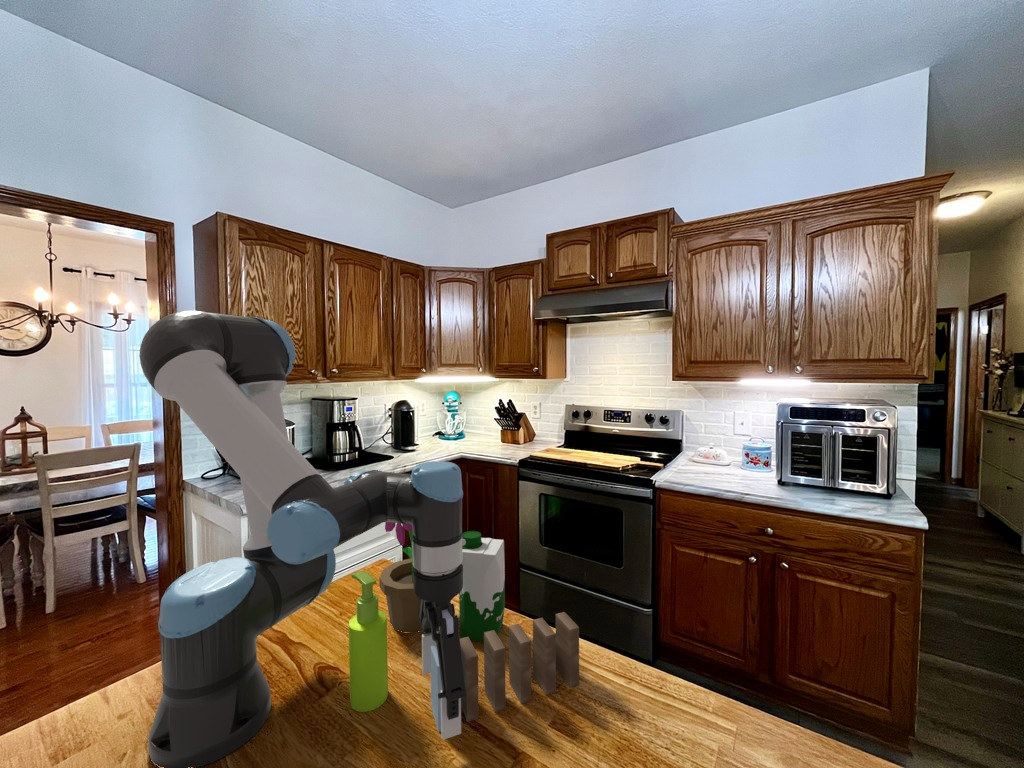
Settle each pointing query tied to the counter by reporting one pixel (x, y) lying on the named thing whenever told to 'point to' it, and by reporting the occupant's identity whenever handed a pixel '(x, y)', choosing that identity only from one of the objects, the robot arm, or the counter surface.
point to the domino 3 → (494, 670)
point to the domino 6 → (567, 649)
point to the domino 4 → (520, 663)
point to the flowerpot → (401, 586)
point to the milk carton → (482, 586)
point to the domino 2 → (469, 679)
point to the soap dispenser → (368, 649)
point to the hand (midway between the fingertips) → (440, 700)
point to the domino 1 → (435, 686)
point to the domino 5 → (544, 656)
